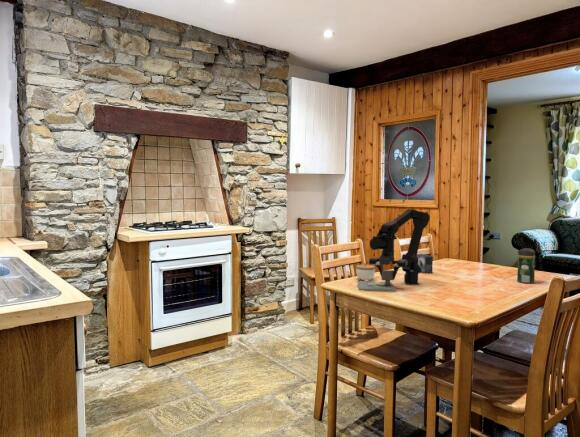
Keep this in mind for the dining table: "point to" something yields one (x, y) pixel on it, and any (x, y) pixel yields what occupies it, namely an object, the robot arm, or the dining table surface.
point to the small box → (425, 263)
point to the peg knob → (385, 278)
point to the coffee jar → (526, 265)
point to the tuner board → (374, 286)
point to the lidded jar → (365, 271)
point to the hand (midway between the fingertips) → (388, 278)
